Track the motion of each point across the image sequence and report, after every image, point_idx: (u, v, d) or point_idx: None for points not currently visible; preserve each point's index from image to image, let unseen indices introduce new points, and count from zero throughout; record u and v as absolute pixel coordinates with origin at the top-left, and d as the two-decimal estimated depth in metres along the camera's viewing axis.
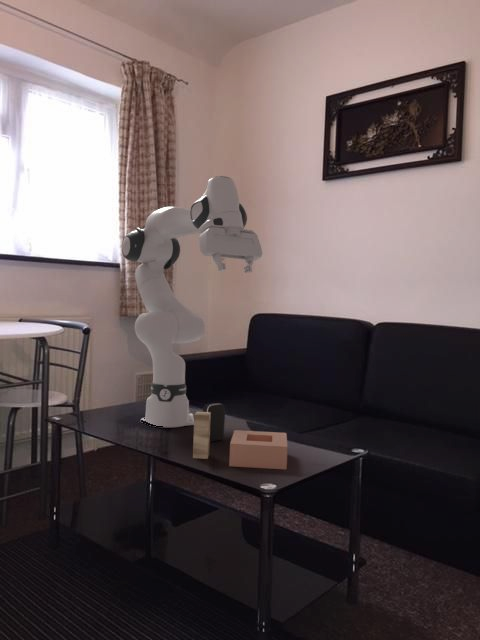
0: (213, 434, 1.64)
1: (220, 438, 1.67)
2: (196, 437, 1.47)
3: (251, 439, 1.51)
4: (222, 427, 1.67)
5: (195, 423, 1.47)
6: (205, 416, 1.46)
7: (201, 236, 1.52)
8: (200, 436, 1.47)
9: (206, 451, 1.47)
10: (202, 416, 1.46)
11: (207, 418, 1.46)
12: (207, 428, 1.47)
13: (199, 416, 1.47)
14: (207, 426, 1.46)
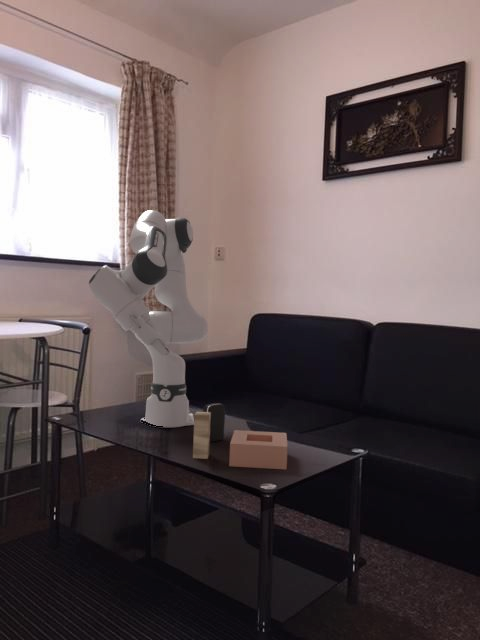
0: (213, 434, 1.64)
1: (220, 438, 1.67)
2: (196, 437, 1.47)
3: (251, 439, 1.51)
4: (222, 427, 1.67)
5: (195, 423, 1.47)
6: (205, 416, 1.46)
7: None
8: (200, 436, 1.47)
9: (206, 451, 1.47)
10: (202, 416, 1.46)
11: (207, 418, 1.46)
12: (207, 428, 1.47)
13: (199, 416, 1.47)
14: (207, 426, 1.46)
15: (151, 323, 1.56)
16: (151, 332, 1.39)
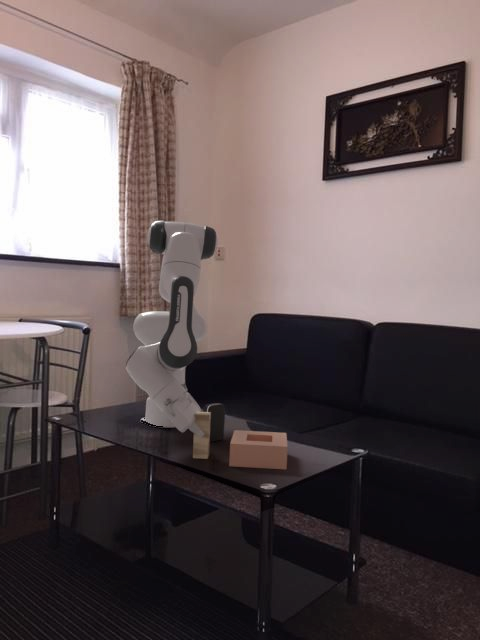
0: (213, 434, 1.64)
1: (220, 438, 1.67)
2: (196, 437, 1.47)
3: (251, 439, 1.51)
4: (222, 427, 1.67)
5: None
6: (205, 416, 1.46)
7: None
8: None
9: (206, 451, 1.47)
10: (202, 416, 1.46)
11: (207, 418, 1.46)
12: (207, 428, 1.47)
13: (199, 416, 1.47)
14: (207, 426, 1.46)
15: (189, 397, 1.56)
16: (186, 420, 1.39)
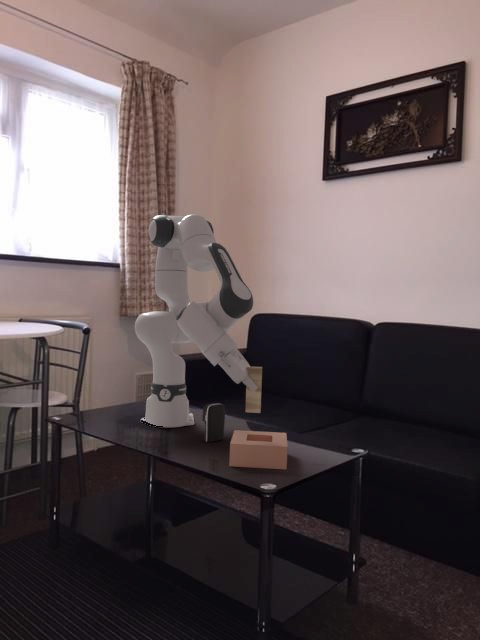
0: (213, 434, 1.64)
1: (220, 438, 1.67)
2: (249, 391, 1.45)
3: (251, 439, 1.51)
4: (222, 427, 1.67)
5: None
6: (258, 369, 1.45)
7: None
8: None
9: (259, 405, 1.45)
10: (255, 369, 1.45)
11: (260, 371, 1.45)
12: (260, 382, 1.45)
13: (252, 369, 1.45)
14: (260, 380, 1.45)
15: (238, 354, 1.55)
16: (241, 371, 1.37)
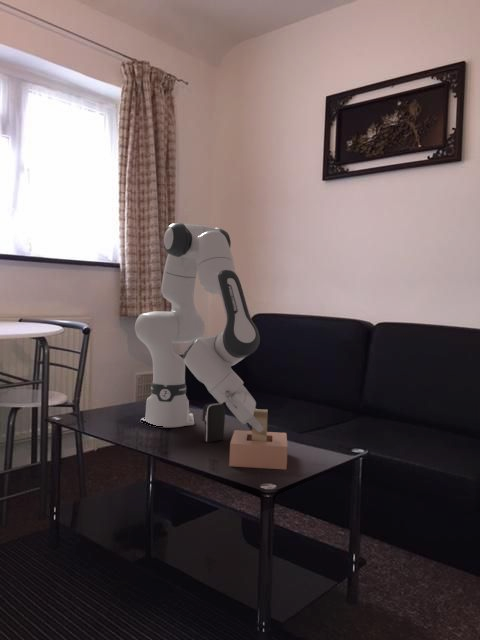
0: (213, 434, 1.64)
1: (220, 438, 1.67)
2: (255, 435, 1.46)
3: (251, 439, 1.51)
4: (222, 427, 1.67)
5: None
6: (264, 413, 1.45)
7: None
8: (258, 433, 1.46)
9: None
10: (260, 413, 1.45)
11: (266, 415, 1.45)
12: (265, 425, 1.46)
13: (257, 413, 1.46)
14: (266, 423, 1.45)
15: (244, 389, 1.55)
16: (248, 412, 1.38)
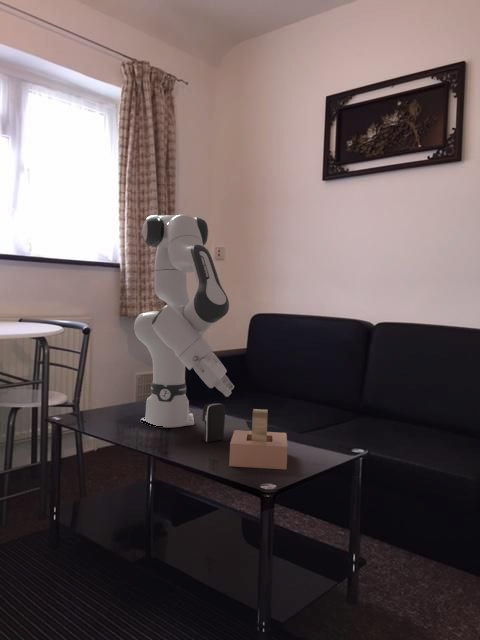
0: (213, 434, 1.64)
1: (220, 438, 1.67)
2: (255, 435, 1.46)
3: (251, 439, 1.51)
4: (222, 427, 1.67)
5: (253, 420, 1.46)
6: (264, 413, 1.45)
7: None
8: (258, 433, 1.46)
9: None
10: (260, 413, 1.45)
11: (266, 415, 1.45)
12: (265, 426, 1.45)
13: (257, 413, 1.45)
14: (265, 424, 1.45)
15: (214, 357, 1.55)
16: (214, 376, 1.38)
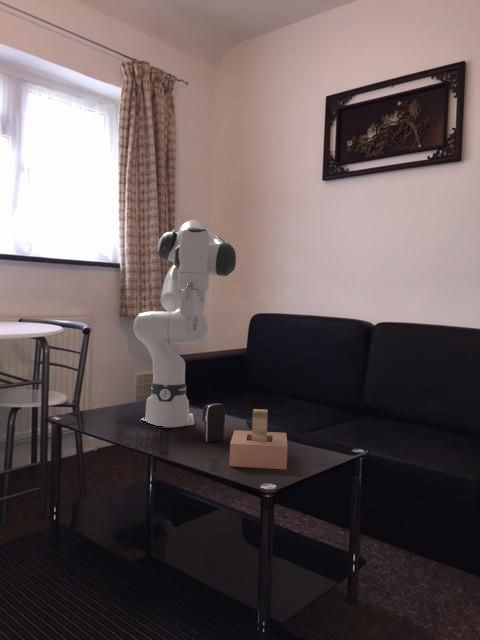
0: (213, 434, 1.64)
1: (220, 438, 1.67)
2: (255, 435, 1.46)
3: (251, 439, 1.51)
4: (222, 427, 1.67)
5: (253, 420, 1.46)
6: (264, 413, 1.45)
7: None
8: (258, 433, 1.46)
9: None
10: (260, 413, 1.45)
11: (266, 415, 1.45)
12: (265, 426, 1.45)
13: (257, 413, 1.45)
14: (265, 424, 1.45)
15: (203, 297, 1.62)
16: (191, 309, 1.45)
